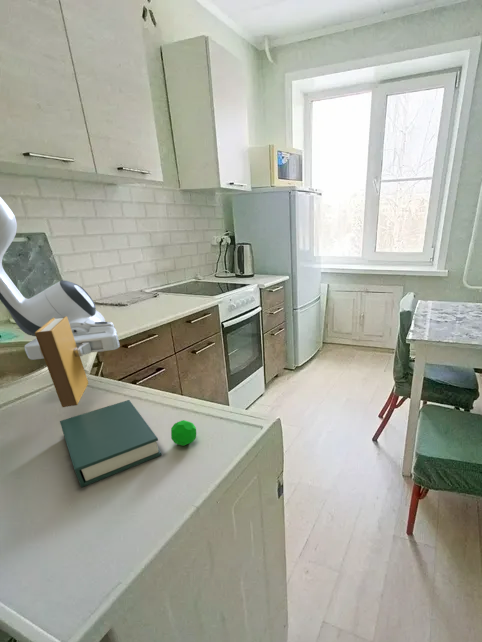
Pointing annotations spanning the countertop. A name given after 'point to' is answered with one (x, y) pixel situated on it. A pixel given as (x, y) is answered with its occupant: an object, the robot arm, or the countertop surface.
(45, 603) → the countertop surface
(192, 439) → the polyhedron
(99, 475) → the hardcover
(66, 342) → the paperback
